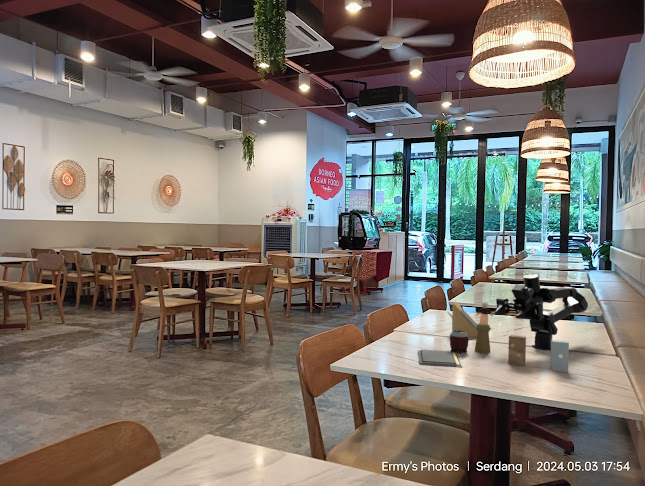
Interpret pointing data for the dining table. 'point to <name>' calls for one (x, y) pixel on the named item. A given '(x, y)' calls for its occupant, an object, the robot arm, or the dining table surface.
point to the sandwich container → (463, 321)
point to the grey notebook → (438, 358)
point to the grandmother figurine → (484, 313)
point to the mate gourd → (458, 340)
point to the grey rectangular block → (559, 355)
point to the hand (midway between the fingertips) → (505, 315)
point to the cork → (482, 338)
